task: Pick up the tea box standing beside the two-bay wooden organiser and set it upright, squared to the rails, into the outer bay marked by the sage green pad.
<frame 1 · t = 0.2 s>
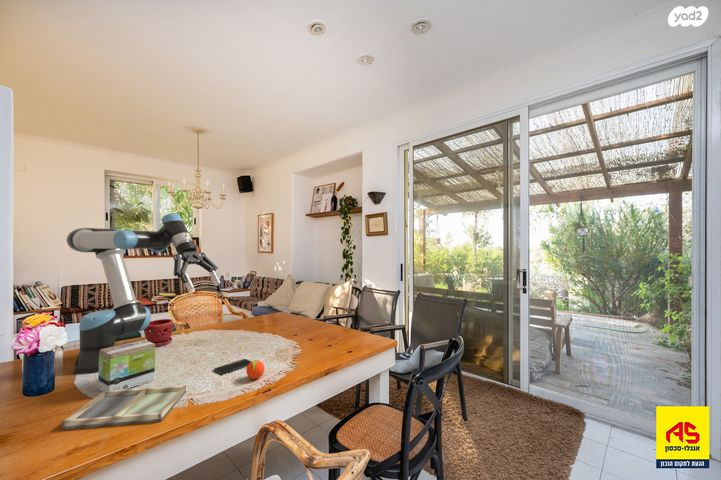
hand: (205, 286, 132), 35 cm above the table, tool tilted 35°, fingers open, 13 cm apart
plant pot: (158, 344, 165), on the table
phone: (234, 368, 135), on the table
tea box: (127, 385, 118), on the table
organiser: (130, 408, 101), on the table
clementine: (255, 379, 124), on the table
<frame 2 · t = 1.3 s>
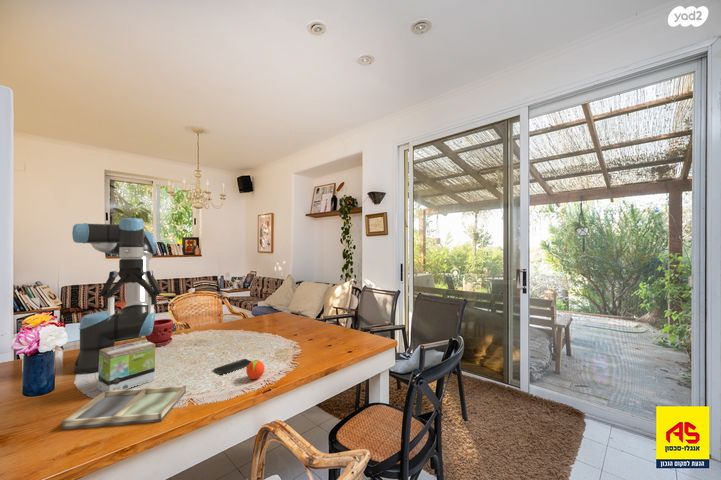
hand: (131, 314, 119), 27 cm above the table, tool pointing down, fingers open, 13 cm apart
nothing on the table moved.
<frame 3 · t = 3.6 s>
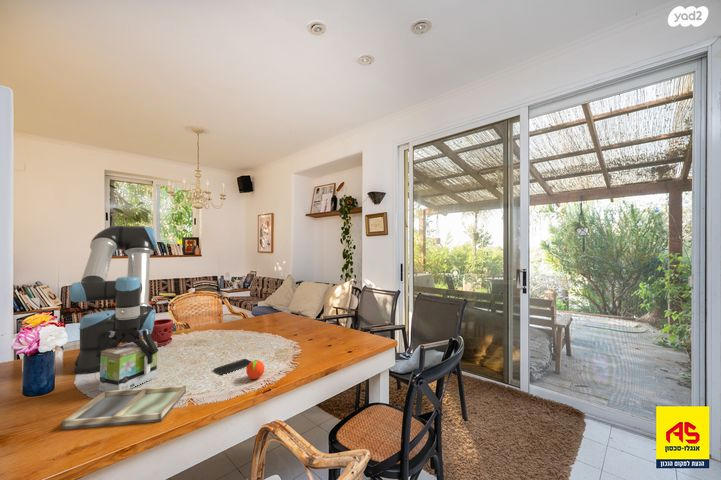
hand: (127, 373, 118), 4 cm above the table, tool pointing down, fingers open, 13 cm apart
tea box: (129, 384, 119), on the table, touching gripper
everything else where it was.
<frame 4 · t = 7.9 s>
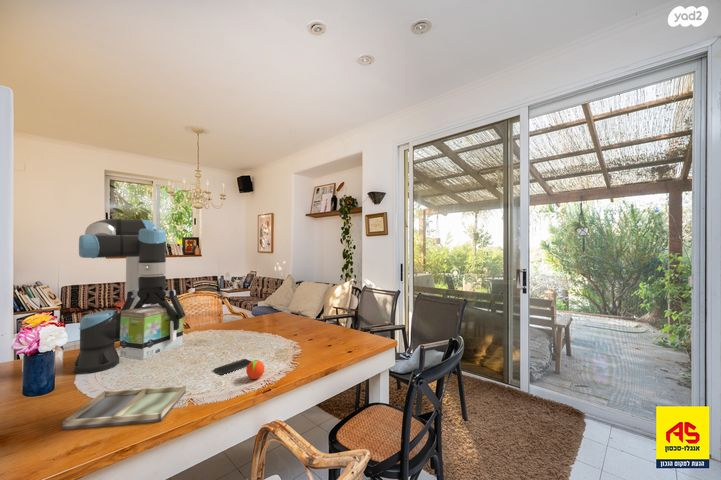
hand: (152, 340, 103), 22 cm above the table, tool pointing down, fingers closed on tea box, 12 cm apart
tea box: (153, 351, 103), point 18 cm above the table, touching gripper
everything else where it was.
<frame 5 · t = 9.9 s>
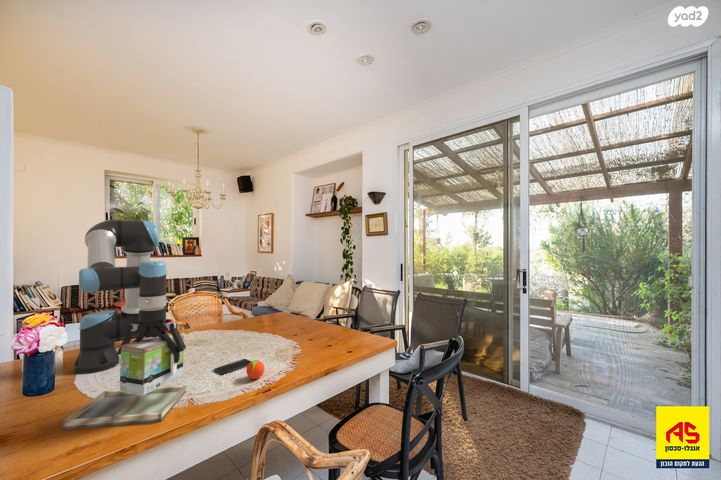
hand: (152, 374, 102), 11 cm above the table, tool pointing down, fingers closed on tea box, 12 cm apart
tea box: (153, 384, 103), point 7 cm above the table, touching gripper
everything else where it was.
when the fingers open (6 cm above the table, at t = 11.7 s): tea box stays where it is, resting on organiser.
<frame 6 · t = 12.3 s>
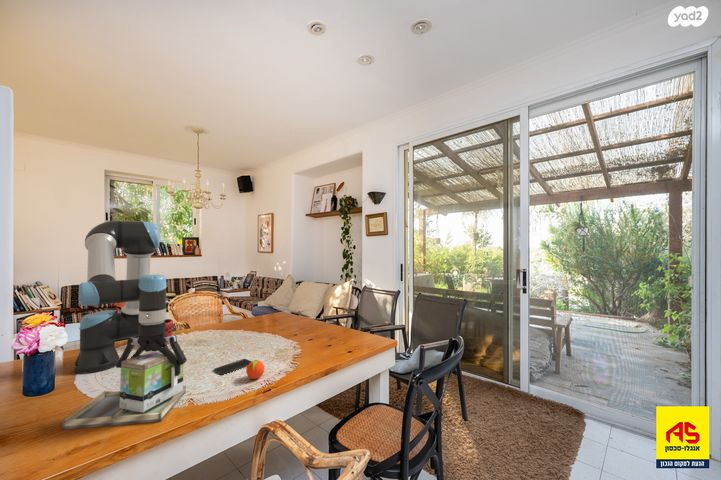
hand: (152, 386, 102), 7 cm above the table, tool pointing down, fingers open, 13 cm apart
tea box: (153, 400, 103), point 2 cm above the table, touching organiser
everything else where it was.
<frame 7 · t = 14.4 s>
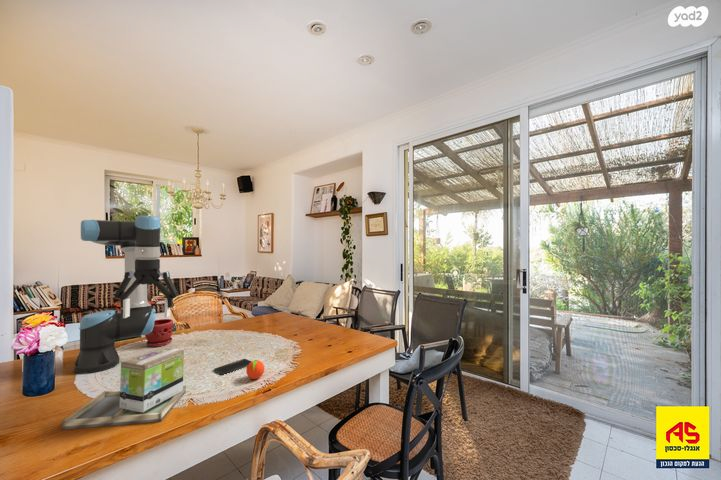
hand: (147, 316, 113), 27 cm above the table, tool pointing down, fingers open, 13 cm apart
nothing on the table moved.
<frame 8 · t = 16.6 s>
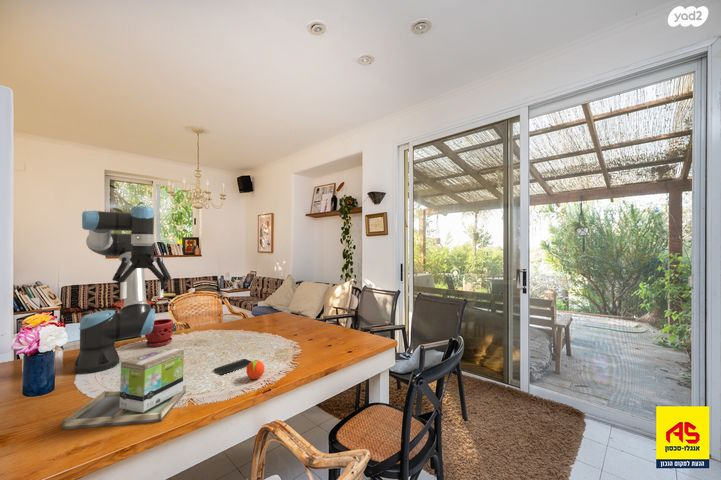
hand: (142, 298, 125), 32 cm above the table, tool pointing down, fingers open, 13 cm apart
nothing on the table moved.
at the end: tea box 0.4 cm from the target spot on the organiser, point 2.1 cm above the organiser's base; tea box tilted 0°; the gripper is holding nothing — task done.
